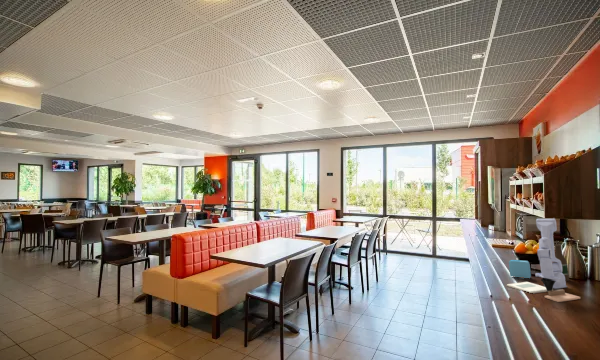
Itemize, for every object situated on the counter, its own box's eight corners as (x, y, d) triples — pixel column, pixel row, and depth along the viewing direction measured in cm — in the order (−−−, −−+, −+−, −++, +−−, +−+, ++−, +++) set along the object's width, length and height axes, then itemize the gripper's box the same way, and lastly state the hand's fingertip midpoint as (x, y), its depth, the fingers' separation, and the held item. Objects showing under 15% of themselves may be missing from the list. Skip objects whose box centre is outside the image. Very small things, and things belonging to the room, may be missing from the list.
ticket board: (527, 283, 204) (526, 281, 205) (553, 290, 187) (552, 288, 187) (506, 285, 202) (506, 284, 202) (530, 293, 184) (530, 291, 184)
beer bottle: (566, 278, 209) (561, 243, 211) (572, 281, 202) (567, 245, 203) (552, 278, 211) (548, 243, 213) (558, 281, 204) (553, 245, 206)
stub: (566, 294, 178) (565, 288, 179) (580, 298, 170) (579, 292, 171) (544, 297, 176) (543, 291, 176) (558, 302, 168) (557, 295, 168)
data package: (531, 277, 216) (529, 260, 217) (530, 279, 213) (528, 262, 214) (511, 275, 224) (509, 259, 225) (510, 277, 221) (508, 260, 222)
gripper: (530, 266, 188) (532, 288, 187) (552, 271, 174) (555, 295, 173) (539, 265, 189) (542, 287, 188) (563, 270, 175) (566, 294, 174)
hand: (549, 291), depth 181 cm, fingers closed
